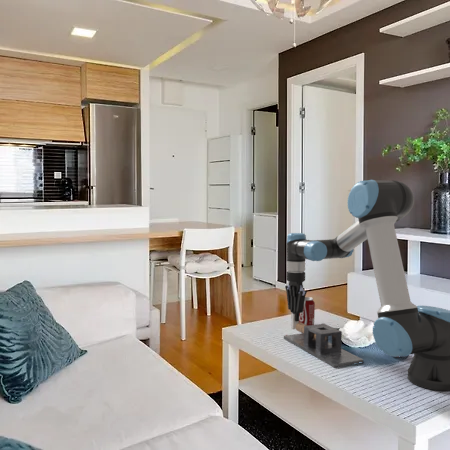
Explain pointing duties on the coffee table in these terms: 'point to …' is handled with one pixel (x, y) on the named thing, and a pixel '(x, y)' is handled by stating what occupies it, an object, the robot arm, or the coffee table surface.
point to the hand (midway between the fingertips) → (295, 328)
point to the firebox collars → (324, 345)
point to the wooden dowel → (301, 329)
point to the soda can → (308, 312)
